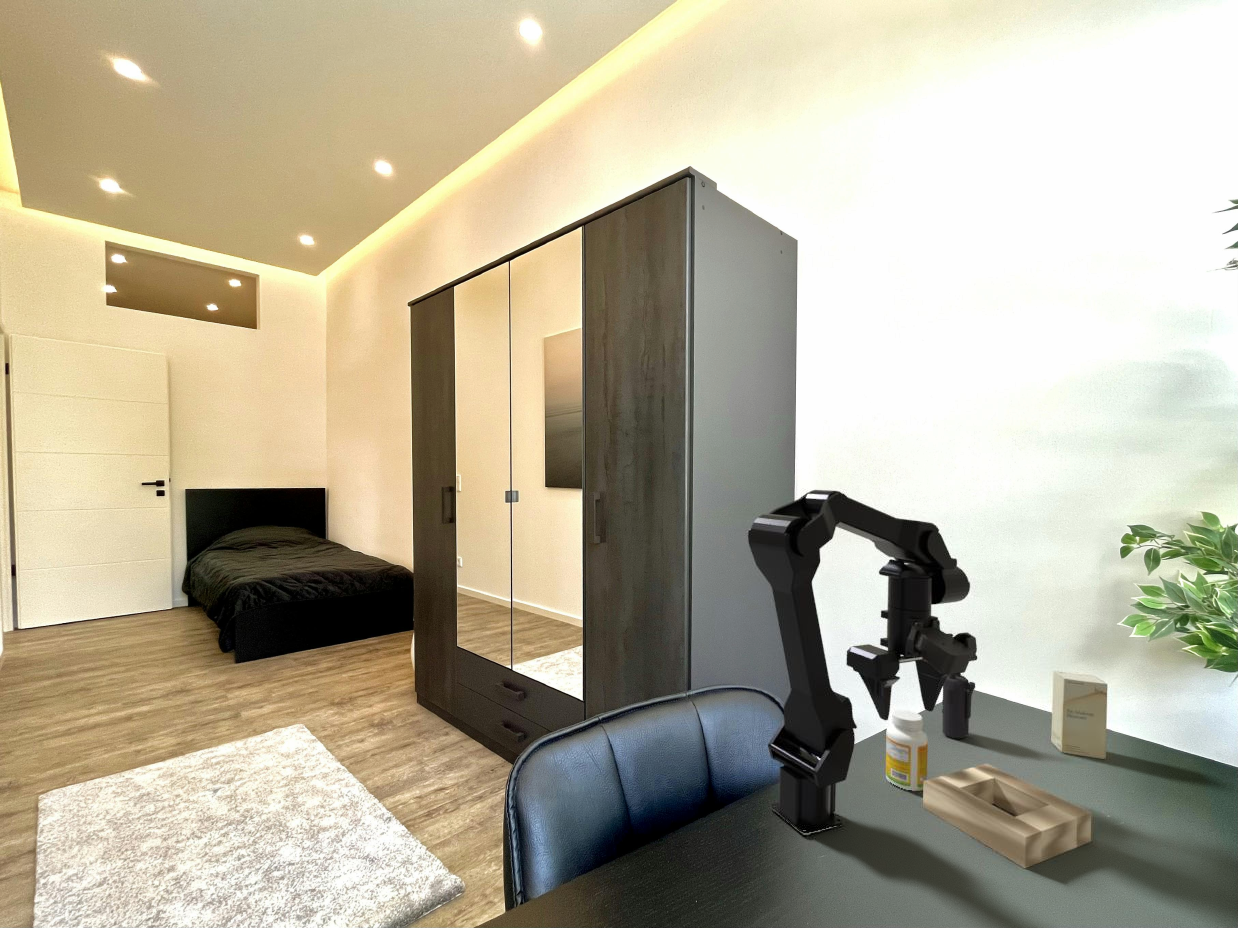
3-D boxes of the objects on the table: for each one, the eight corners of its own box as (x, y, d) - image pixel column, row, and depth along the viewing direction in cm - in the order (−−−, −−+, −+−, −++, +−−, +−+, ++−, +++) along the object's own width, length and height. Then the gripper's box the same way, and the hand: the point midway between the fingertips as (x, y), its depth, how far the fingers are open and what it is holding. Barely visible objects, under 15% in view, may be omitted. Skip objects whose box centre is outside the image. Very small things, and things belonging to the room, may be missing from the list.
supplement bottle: (917, 774, 87) (918, 708, 87) (933, 793, 81) (934, 723, 81) (880, 771, 87) (881, 706, 87) (893, 790, 82) (894, 721, 82)
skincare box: (1061, 753, 95) (1062, 678, 95) (1050, 741, 99) (1051, 669, 99) (1108, 760, 93) (1109, 683, 93) (1094, 747, 97) (1095, 674, 97)
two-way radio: (951, 727, 104) (953, 642, 104) (979, 736, 100) (980, 648, 100) (938, 735, 100) (940, 647, 100) (967, 745, 97) (968, 654, 97)
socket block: (1025, 868, 66) (1025, 836, 66) (923, 807, 78) (923, 780, 78) (1090, 841, 71) (1091, 812, 71) (986, 788, 83) (986, 763, 83)
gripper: (912, 625, 73) (909, 749, 73) (1006, 615, 81) (1004, 727, 81) (844, 606, 84) (842, 715, 83) (933, 598, 91) (931, 698, 91)
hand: (906, 714), depth 84 cm, fingers open, 9 cm apart
